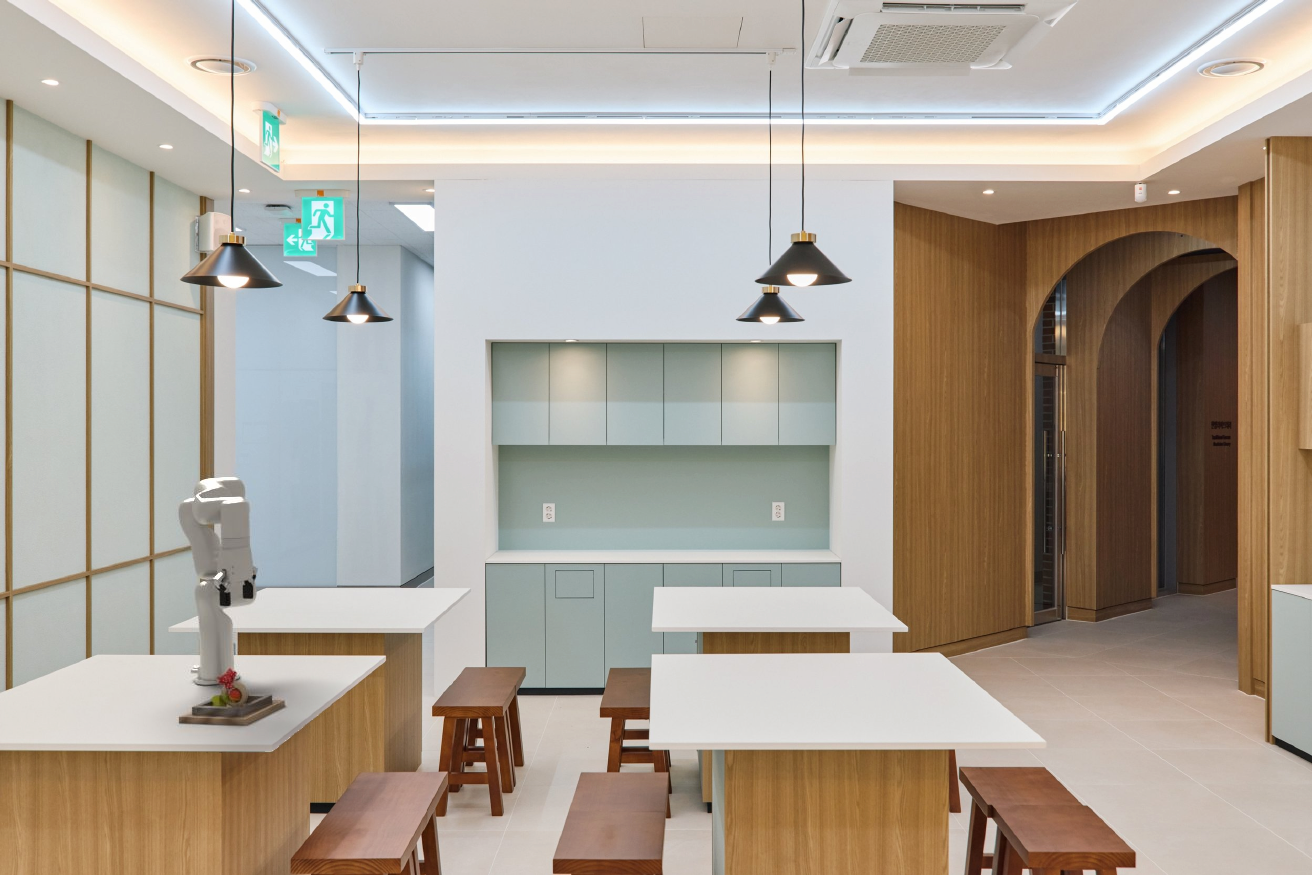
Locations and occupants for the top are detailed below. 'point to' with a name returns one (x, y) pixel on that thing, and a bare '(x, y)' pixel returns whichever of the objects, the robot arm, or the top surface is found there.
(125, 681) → the top surface
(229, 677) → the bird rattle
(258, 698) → the wooden tray
